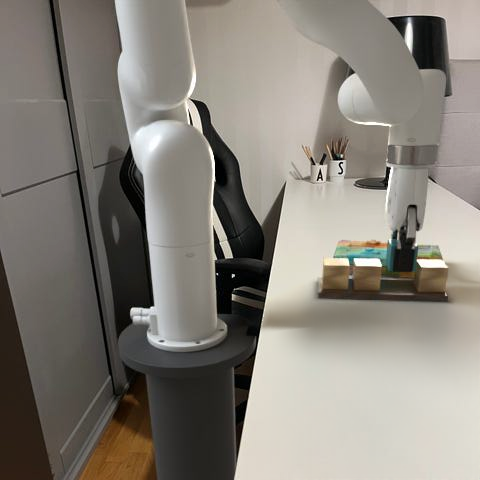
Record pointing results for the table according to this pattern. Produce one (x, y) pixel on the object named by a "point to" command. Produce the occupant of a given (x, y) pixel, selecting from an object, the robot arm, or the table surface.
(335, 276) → the maple block
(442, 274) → the maple block
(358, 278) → the maple block
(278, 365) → the table surface
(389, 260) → the teal block
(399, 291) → the walnut board
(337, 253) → the puzzle game
